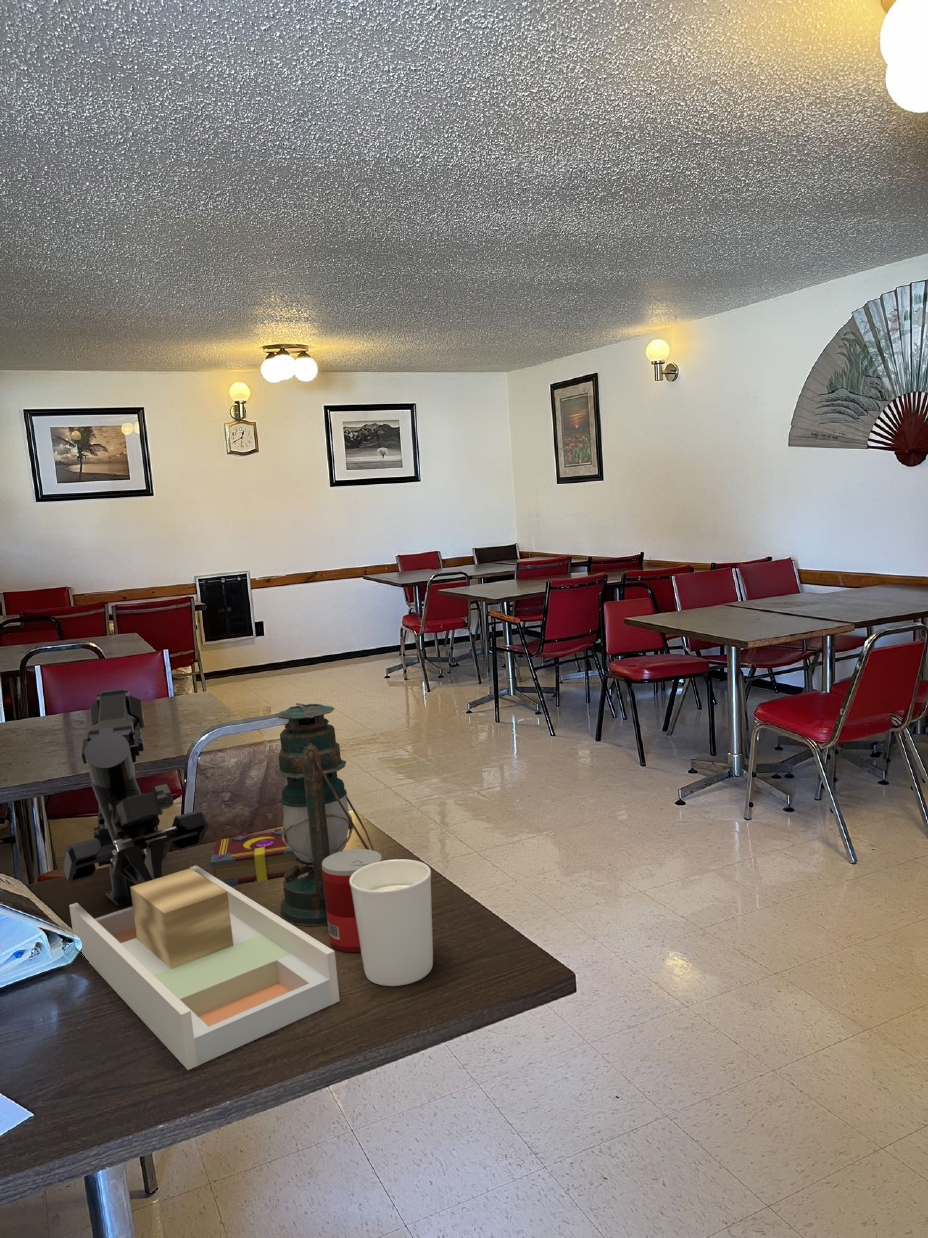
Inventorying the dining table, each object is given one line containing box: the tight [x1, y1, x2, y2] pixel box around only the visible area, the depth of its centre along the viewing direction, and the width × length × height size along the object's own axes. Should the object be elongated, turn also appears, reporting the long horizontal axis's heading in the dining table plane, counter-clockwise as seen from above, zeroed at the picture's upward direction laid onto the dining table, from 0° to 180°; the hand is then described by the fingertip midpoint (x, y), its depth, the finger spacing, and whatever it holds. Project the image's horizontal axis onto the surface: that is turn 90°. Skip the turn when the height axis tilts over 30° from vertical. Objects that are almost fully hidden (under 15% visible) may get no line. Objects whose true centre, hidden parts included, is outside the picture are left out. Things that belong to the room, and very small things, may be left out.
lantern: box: [275, 702, 376, 927], centre depth 128 cm, size 19×14×30 cm
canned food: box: [322, 848, 383, 953], centre depth 117 cm, size 8×8×11 cm
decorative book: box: [209, 827, 306, 886], centre depth 147 cm, size 11×16×5 cm
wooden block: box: [130, 867, 233, 969], centre depth 114 cm, size 12×8×7 cm, turn 39°
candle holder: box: [349, 858, 434, 987], centre depth 109 cm, size 10×10×12 cm
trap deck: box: [69, 865, 341, 1071], centre depth 112 cm, size 40×18×6 cm, turn 39°
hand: (158, 898), depth 120 cm, fingers closed
